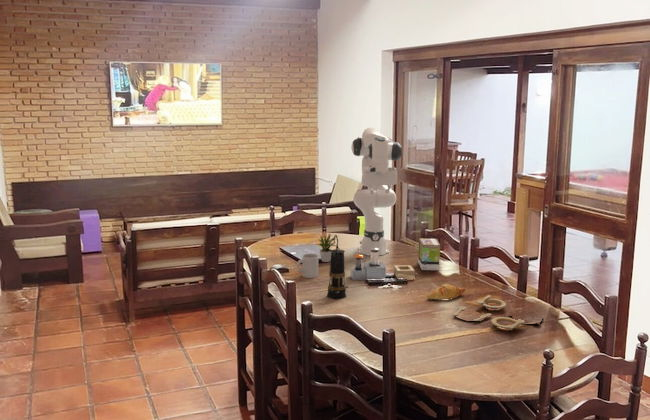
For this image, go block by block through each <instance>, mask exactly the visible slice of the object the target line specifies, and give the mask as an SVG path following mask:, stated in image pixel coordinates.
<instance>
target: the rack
mask: <svg viewBox="0 0 650 420" xmlns="http://www.w3.org/2000/svg"><path fill="white" fill-rule="evenodd" d="M394 274H395V276H396V277H397V278H403V279H407V280H406V281H412V280H413V279H414V280H416V279H415V276H416V270H415V269H414V267H413V266H412V265H411V264H405V265H404V264H402V265H398V264H396V265H393V275H394ZM395 276H394V277H395ZM396 277H395V278H396ZM414 280H413V281H414Z"/></svg>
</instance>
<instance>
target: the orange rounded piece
mask: <svg viewBox="0 0 650 420" xmlns="http://www.w3.org/2000/svg"><path fill="white" fill-rule="evenodd" d="M353 258H355V267H356V269H355V270H361V267H362V259H363V258H364V254H360V253H355V254H353Z"/></svg>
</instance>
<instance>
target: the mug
mask: <svg viewBox="0 0 650 420" xmlns="http://www.w3.org/2000/svg"><path fill="white" fill-rule="evenodd" d="M300 264H302V266H301V269H300ZM296 270H297V272H298V273H301V274H302V275H301V276H302V277H303V278H307V279H315V278H318V277H319V255H318V254H316V253H315V254H314V253H305V254H303V255H302V257H301V259H299V260H298V261H297V263H296Z"/></svg>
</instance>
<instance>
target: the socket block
mask: <svg viewBox="0 0 650 420" xmlns="http://www.w3.org/2000/svg"><path fill="white" fill-rule="evenodd" d="M362 267H364V268H365V270H366V280H367V279H379V278H385V279H386V270H387V268H386V266H385V264H384V263H383V261H378V266H371V261H368V262H367V261H366V262H365V261H364V262H363V265H362ZM366 280H365V281H366Z"/></svg>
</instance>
